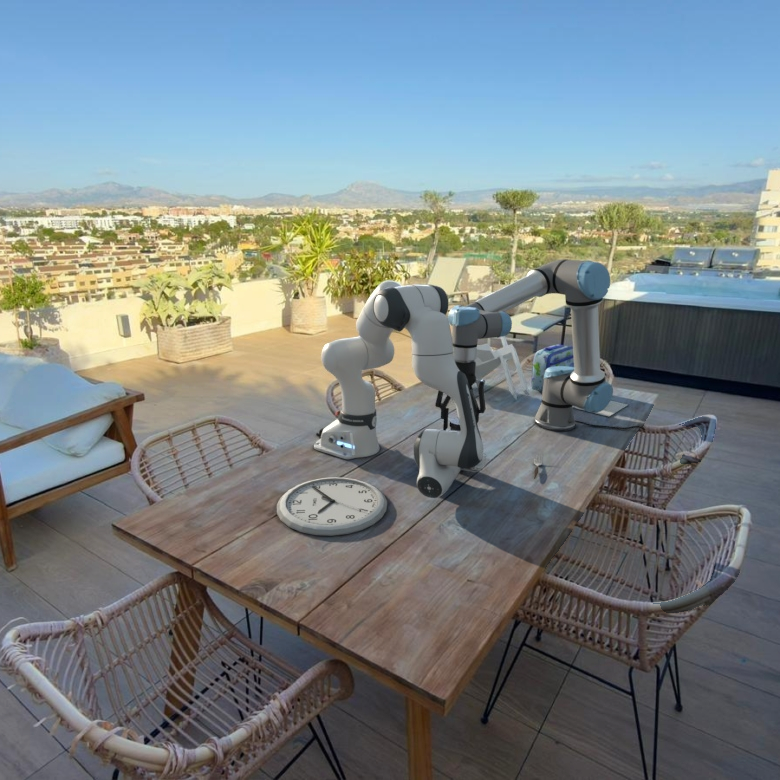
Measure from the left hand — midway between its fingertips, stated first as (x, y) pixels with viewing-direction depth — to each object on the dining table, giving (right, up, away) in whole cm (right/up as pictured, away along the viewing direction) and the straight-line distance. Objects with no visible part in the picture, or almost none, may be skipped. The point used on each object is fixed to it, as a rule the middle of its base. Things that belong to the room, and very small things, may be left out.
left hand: (458, 447), depth 165 cm
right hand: (0, +5, -3) cm, 6 cm away
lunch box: (+56, +18, +85) cm, 103 cm away
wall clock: (-37, -13, -23) cm, 46 cm away
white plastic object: (+20, +17, +78) cm, 82 cm away
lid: (0, +8, -3) cm, 9 cm away
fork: (+25, -7, +1) cm, 26 cm away
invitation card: (+70, +11, +61) cm, 93 cm away
